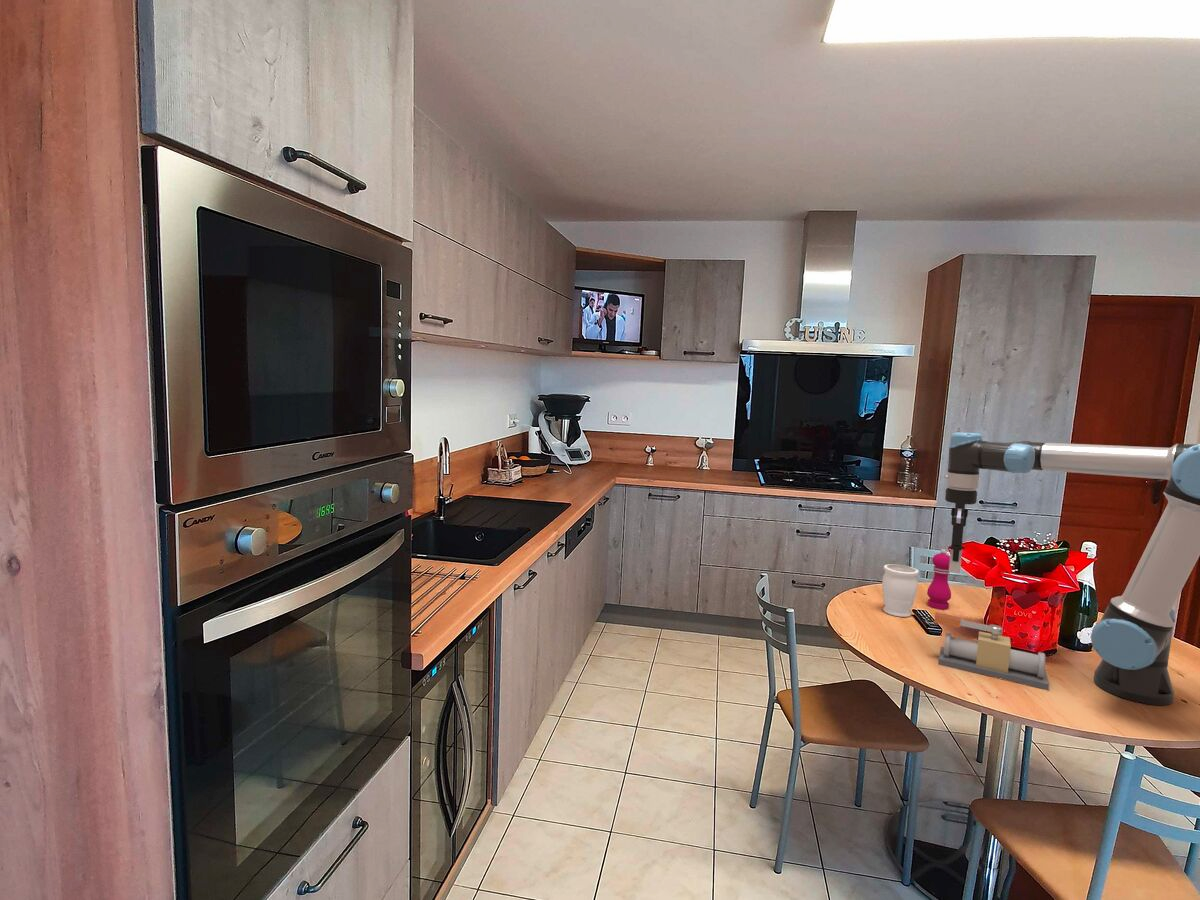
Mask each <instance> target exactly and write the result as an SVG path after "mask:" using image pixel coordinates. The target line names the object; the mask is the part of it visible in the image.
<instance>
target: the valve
mask: <svg viewBox="0 0 1200 900" xmlns="http://www.w3.org/2000/svg"><path fill="white" fill-rule="evenodd" d="M1011 647H1012V646H1011V637H1009V636H1004V635H995V634H992V633H989V632H986V631H985V632H984V631H981V630H980V631H978V637H977V641H974V640H970V639H966V638H961V637H956V636H952V633H950V632H949V633H948V632H945V640H944V646H943V645H942V646H940V650H939V655H938V665H939V666H945V667H949V668H952V669H956V668H957V669H958V670H960V669H961V671H965V672H969V673H973V674H977V673H978V674H979V675H982V674H984V675H983V676H986V675H988V676H987V677H990V676H993V677H992V678H994V677H997V678H996V679H999V678H1002V679H1001V680H1003V679H1006V680H1005V681H1007V680H1011V681H1014V682H1013V683H1016V682H1018V683H1017V684H1020V683H1022V684H1021V685H1024V684H1026V685H1025V686H1028V685H1029V687H1033V688H1038V689H1042V690H1046V691H1049V688H1050V687H1049V686H1050V684H1049V678H1048V675H1047V670H1046V654H1045V652H1041V651H1040V652H1039V651H1038V653H1037V654H1035V653H1031V652H1028V651H1027V652H1026V651H1021V650H1018V649H1017V650H1016V649H1012V648H1011ZM957 669H956V670H957ZM1011 681H1010V682H1011Z"/></svg>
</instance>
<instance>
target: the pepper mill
mask: <svg viewBox="0 0 1200 900" xmlns="http://www.w3.org/2000/svg"><path fill="white" fill-rule="evenodd" d="M931 561H932V564H933V565H934V566H933V569H932V571H933V573H934V574H933V579H932V581H931V583H930V584H929V586H928V588H927V591H926V594H927V596H928V597H929V598H928V600H927V606H929V607H930V608H933V609H935V610H944V611H945V610H948V609H949V607H950V606H949V601H950V600H951V598H952V591H951V588H950V584H949V583H948V582H949V580H948V578H949V574H950V573H951V572H949V564H950V554H947V550H946V549H945V548H942V549H941V550H940V553H936V554H934V555H933V557H932V560H931Z"/></svg>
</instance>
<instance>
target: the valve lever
mask: <svg viewBox="0 0 1200 900" xmlns="http://www.w3.org/2000/svg"><path fill="white" fill-rule="evenodd" d="M933 623H935V624H939V625H944V626H949V627H955V628H960V627H966V628H971V629H975V630H980V631H983V632H984V631H985V632H987V633H990V634H991V633H992V634H995V635H1000V636H1003V635H1002V634H1003V627H1002V626H1001V625H997V624H989V625H988V624H984V623H980V622H979V623H978V622H974V621H969V620H966V619H965V620H964V619H962V618H961V616H955V615H951V614H946V613H941V612H935V615H934V622H933Z"/></svg>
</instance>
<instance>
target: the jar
mask: <svg viewBox="0 0 1200 900" xmlns="http://www.w3.org/2000/svg"><path fill="white" fill-rule="evenodd" d="M883 570H884V573H883V575H882V581H881V582H882V583H881V590H882V591H881V592H882V601H883V604H884V606H883V608H882V609H883V611H884V612H885V613H886V614H888V615H890V616H894V617H898V618H899V617H900V618H901V617H902V618H906V617H910V616H911V615H912V611H911V609H912V608H913V606H914V604H915V600H916V596H917V592H918V578H917V576H918V575H919V570H918V569H917V568H915V567H911V566H909V565H904V564H895V563H891V564H890V563H889V564H885V565H883Z"/></svg>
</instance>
